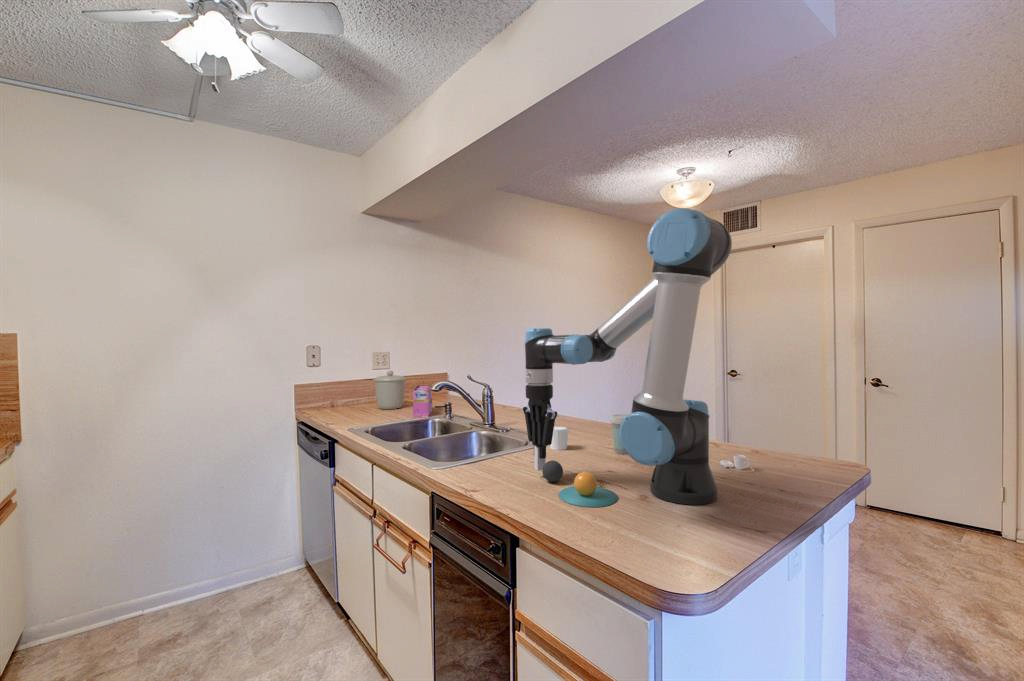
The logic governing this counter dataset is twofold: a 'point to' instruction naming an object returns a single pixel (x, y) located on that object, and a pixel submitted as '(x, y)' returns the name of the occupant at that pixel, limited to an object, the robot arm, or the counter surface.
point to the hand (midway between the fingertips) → (540, 469)
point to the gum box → (422, 401)
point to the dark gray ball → (552, 471)
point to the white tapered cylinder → (559, 438)
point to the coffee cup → (616, 425)
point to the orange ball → (585, 483)
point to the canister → (390, 390)
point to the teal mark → (588, 497)
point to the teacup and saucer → (736, 462)
